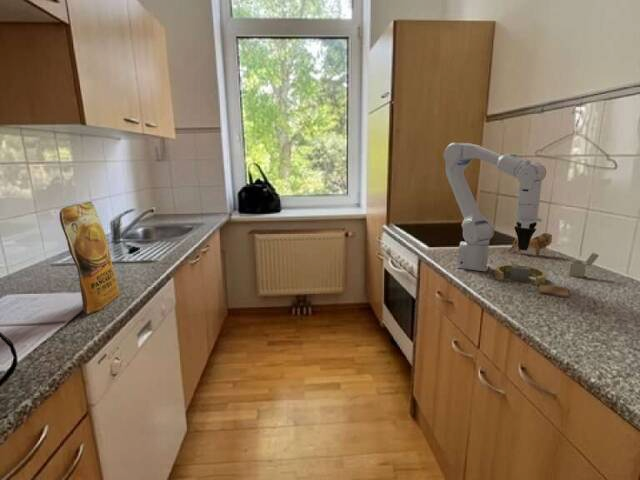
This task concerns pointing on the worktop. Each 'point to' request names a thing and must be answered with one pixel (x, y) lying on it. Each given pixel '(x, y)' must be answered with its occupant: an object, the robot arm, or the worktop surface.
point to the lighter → (581, 266)
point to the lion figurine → (535, 243)
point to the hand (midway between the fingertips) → (523, 247)
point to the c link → (520, 273)
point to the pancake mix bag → (90, 255)
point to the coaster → (553, 290)
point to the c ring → (535, 272)
